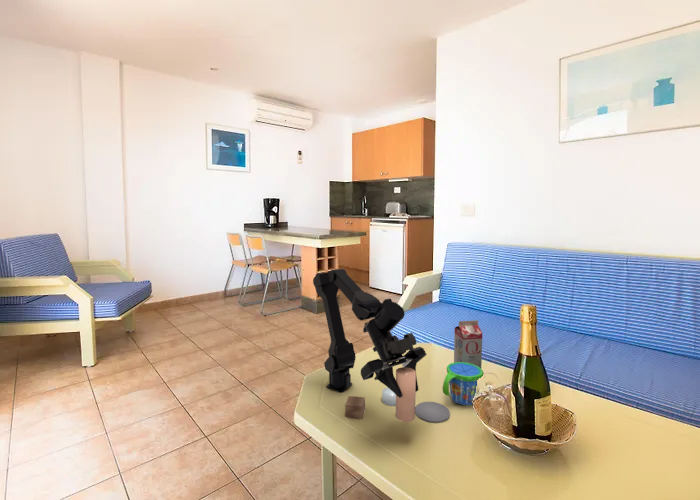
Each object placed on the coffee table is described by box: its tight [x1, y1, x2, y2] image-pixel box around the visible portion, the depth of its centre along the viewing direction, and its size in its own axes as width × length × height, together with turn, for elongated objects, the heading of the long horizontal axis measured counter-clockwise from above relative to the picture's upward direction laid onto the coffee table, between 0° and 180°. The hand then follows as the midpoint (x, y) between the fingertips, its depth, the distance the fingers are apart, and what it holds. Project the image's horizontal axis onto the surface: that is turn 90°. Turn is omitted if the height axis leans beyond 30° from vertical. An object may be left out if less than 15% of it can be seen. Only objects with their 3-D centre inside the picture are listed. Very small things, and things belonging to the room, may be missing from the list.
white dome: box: [381, 386, 396, 407], centre depth 111 cm, size 6×6×3 cm
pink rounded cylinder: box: [395, 366, 417, 423], centre depth 92 cm, size 5×5×12 cm
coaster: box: [415, 401, 451, 424], centre depth 105 cm, size 10×10×1 cm
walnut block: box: [344, 395, 366, 420], centre depth 105 cm, size 5×5×4 cm
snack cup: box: [442, 362, 485, 407], centre depth 111 cm, size 16×10×10 cm
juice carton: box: [453, 319, 483, 369], centre depth 121 cm, size 7×7×22 cm
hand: (409, 394), depth 91 cm, fingers closed on pink rounded cylinder, 5 cm apart
